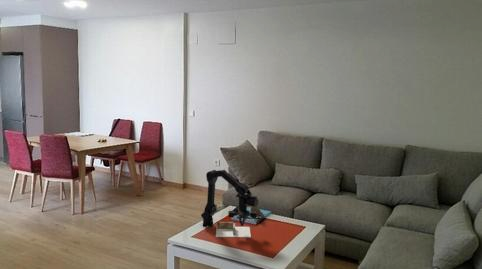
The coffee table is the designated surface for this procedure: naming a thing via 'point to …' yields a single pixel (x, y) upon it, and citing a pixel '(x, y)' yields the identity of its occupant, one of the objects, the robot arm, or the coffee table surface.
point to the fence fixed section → (224, 224)
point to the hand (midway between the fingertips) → (241, 226)
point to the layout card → (229, 232)
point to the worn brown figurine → (257, 211)
